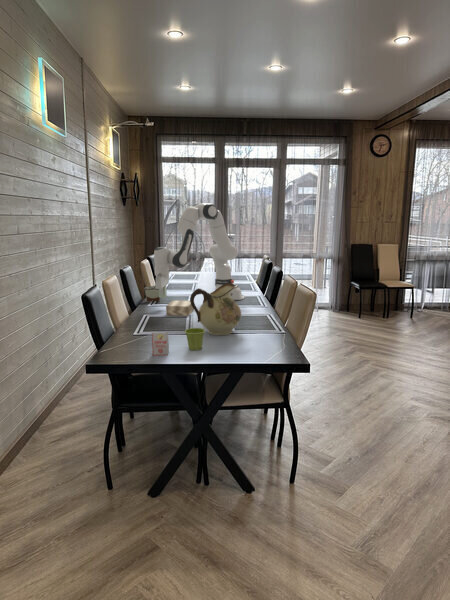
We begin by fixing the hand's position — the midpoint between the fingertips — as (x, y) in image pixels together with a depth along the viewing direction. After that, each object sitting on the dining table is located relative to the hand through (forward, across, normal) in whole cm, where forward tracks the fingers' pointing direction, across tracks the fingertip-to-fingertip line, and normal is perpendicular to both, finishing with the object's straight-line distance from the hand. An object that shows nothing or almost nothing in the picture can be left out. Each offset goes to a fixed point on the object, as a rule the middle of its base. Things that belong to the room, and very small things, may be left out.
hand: (162, 293), depth 274 cm
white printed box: (+10, -88, -22) cm, 91 cm away
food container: (+10, +22, +12) cm, 27 cm away
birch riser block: (+10, -10, -14) cm, 20 cm away
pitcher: (+10, -52, -44) cm, 69 cm away
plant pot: (+10, -79, -36) cm, 87 cm away
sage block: (+3, 0, 0) cm, 3 cm away
